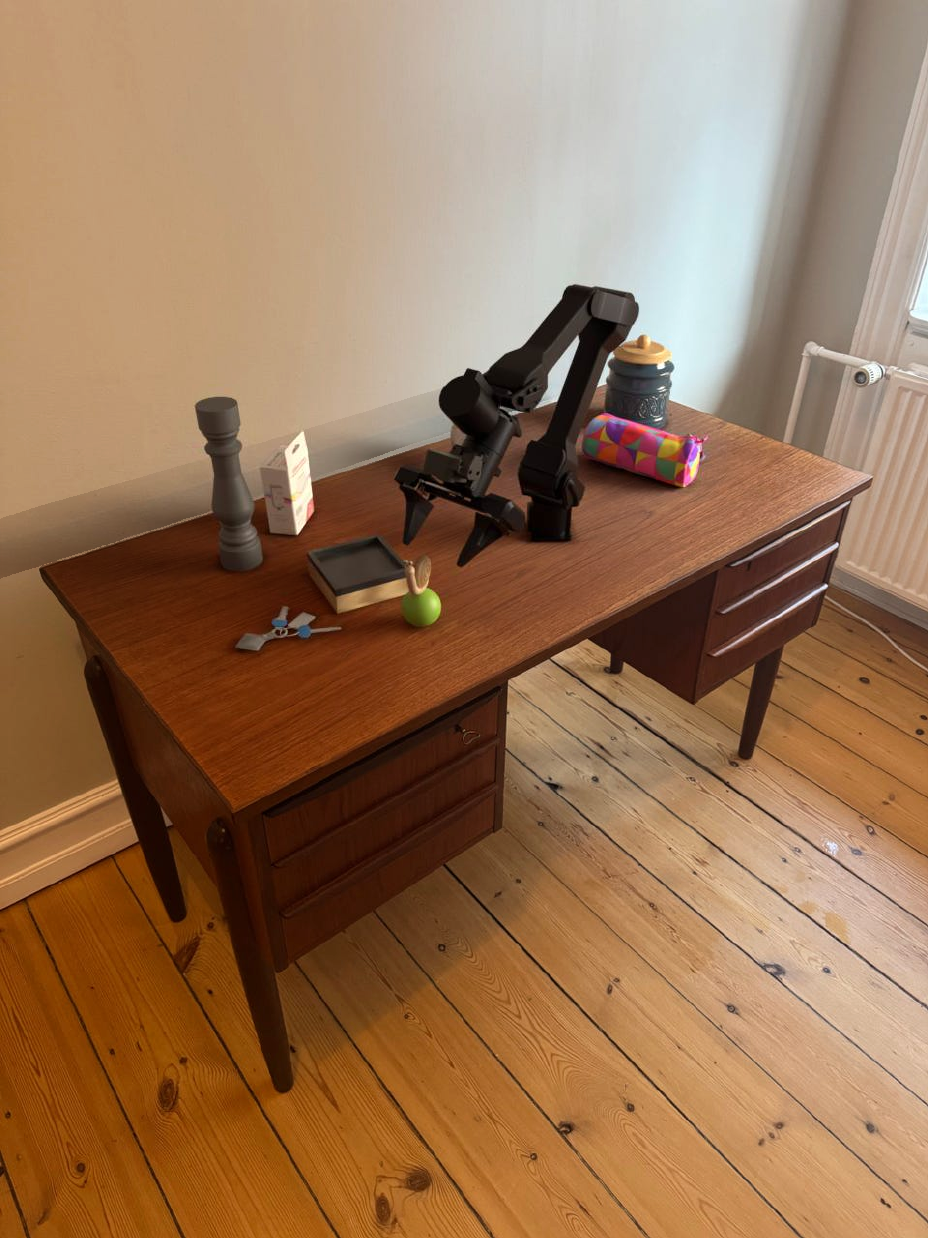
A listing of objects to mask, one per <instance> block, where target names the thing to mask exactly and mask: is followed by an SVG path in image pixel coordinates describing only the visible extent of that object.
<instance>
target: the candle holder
mask: <svg viewBox="0 0 928 1238" xmlns="http://www.w3.org/2000/svg"><path fill="white" fill-rule="evenodd" d="M194 409H195V415H196V420H197V426H198V430H199V431H200V432H201V434H202V436H203V437H204V438H205V440H206V443H205V445H204V447H203V449H204V452H205V454H206V455H208V456H209V457H210V461H211V467H212V473H213V483H212V492H211V493H212V495H211V506H210V507H211V511H212V514H213V515H214V517H215V519H216V520H217V521H218V522H219V524H220V525H221V529H220V530H219V532H218V535H217V537H218V539H219V541H218V543H217V547H218V552H219V557H220V563H221V565H222V568H224V569H225V570H227V571H232V572H246V571H250V570H253V569H255V568H257V567H259V566H260V565H261V564H262V562H263V559H264V558H263V552H262V543H261V538H260V537H259V535H258V530H257V529H256V527H255V526H254V525H253V524H252V523H251V521H252V516H253V514H254V511H255V501H254V499H253V496H252V494H251V491H250V489H249V487H248V485H247V482H246V480H245V477H244V475H243V473H242V468H241V461H240V452H241V451H242V448H243V444H242V443H243V442H242V441H241V440H239V439H237V438H238V434H239V432H240V427H241V423H242V422H241V417H240V410H239V404H238V401H237V399H235V398H233V397H229V396H212V397H207V398H203V399H201V400H199V401H197V402H196V403H195V404H194Z"/></svg>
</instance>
